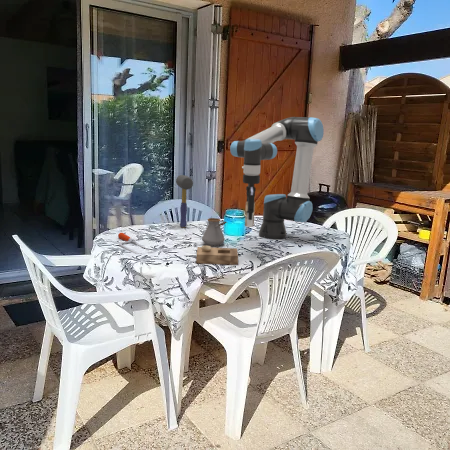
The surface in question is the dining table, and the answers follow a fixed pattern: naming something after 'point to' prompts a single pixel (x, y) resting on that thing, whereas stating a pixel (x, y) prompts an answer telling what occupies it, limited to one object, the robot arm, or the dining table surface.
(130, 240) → the hand saw
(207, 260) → the wooden block with hole
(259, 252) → the dining table surface
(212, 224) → the coffee pot
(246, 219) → the beech dowel
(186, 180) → the rubber mallet
